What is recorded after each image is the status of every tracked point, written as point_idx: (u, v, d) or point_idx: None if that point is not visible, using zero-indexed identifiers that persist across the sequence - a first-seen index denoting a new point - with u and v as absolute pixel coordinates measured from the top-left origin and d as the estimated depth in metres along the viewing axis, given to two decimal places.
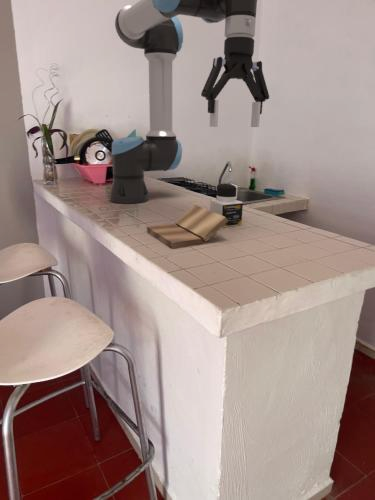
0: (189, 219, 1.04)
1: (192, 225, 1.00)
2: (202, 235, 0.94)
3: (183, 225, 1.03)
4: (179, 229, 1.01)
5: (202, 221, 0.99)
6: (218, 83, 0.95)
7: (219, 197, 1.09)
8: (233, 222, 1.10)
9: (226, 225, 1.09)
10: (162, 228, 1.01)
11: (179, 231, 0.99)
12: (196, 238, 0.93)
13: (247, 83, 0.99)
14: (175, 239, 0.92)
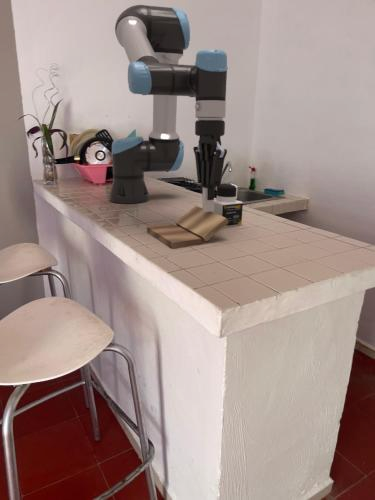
0: (190, 219, 1.04)
1: (192, 225, 1.01)
2: (202, 235, 0.94)
3: (183, 225, 1.03)
4: (179, 229, 1.01)
5: (203, 221, 1.00)
6: None
7: (219, 197, 1.09)
8: (233, 222, 1.10)
9: (226, 225, 1.09)
10: (162, 228, 1.01)
11: (179, 231, 0.99)
12: (196, 238, 0.93)
13: None
14: (175, 239, 0.92)
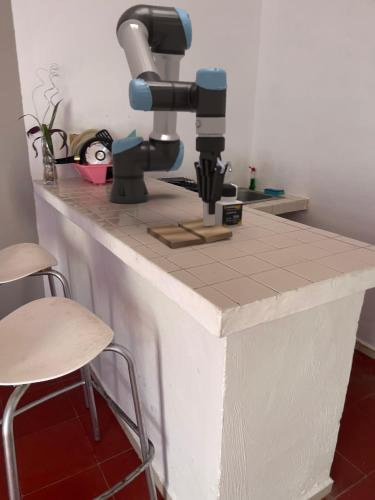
0: (193, 224, 1.05)
1: (196, 228, 1.01)
2: (205, 236, 0.95)
3: (186, 226, 1.04)
4: (179, 229, 1.01)
5: (207, 228, 1.01)
6: None
7: None
8: (233, 222, 1.10)
9: (226, 225, 1.09)
10: (162, 228, 1.01)
11: (179, 231, 0.99)
12: (196, 238, 0.93)
13: None
14: (175, 239, 0.92)
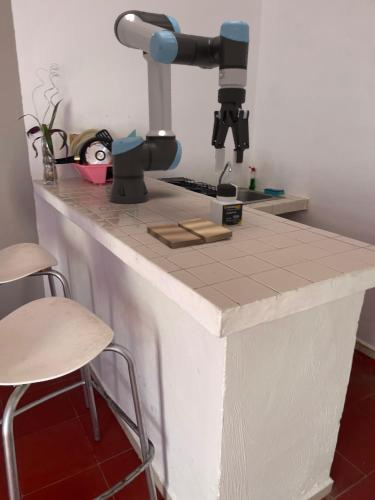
0: (193, 224, 1.05)
1: (196, 228, 1.01)
2: (205, 236, 0.95)
3: (186, 226, 1.04)
4: (179, 229, 1.01)
5: (207, 228, 1.01)
6: None
7: (219, 197, 1.09)
8: (233, 222, 1.10)
9: (226, 225, 1.09)
10: (162, 228, 1.01)
11: (179, 231, 0.99)
12: (196, 238, 0.93)
13: None
14: (175, 239, 0.92)
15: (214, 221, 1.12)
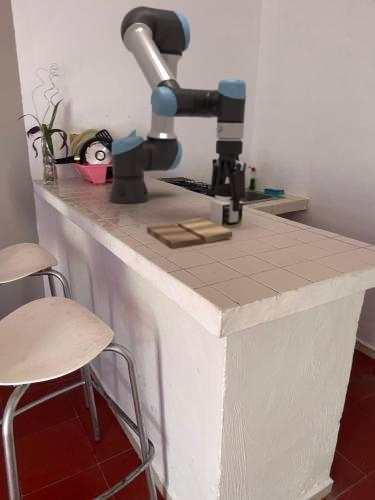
0: (193, 224, 1.05)
1: (196, 228, 1.01)
2: (205, 236, 0.95)
3: (186, 226, 1.04)
4: (179, 229, 1.01)
5: (207, 228, 1.01)
6: None
7: (219, 197, 1.09)
8: None
9: (226, 225, 1.09)
10: (162, 228, 1.01)
11: (179, 231, 0.99)
12: (196, 238, 0.93)
13: None
14: (175, 239, 0.92)
15: (214, 221, 1.12)
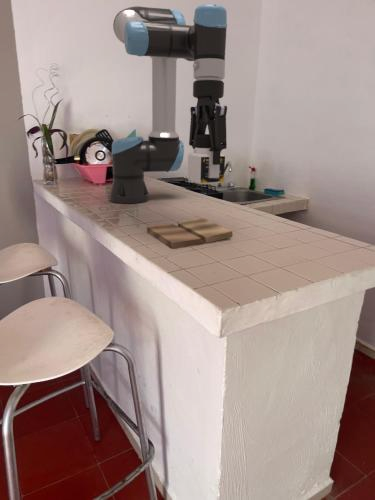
0: (193, 224, 1.05)
1: (196, 228, 1.01)
2: (205, 236, 0.95)
3: (186, 226, 1.04)
4: (179, 229, 1.01)
5: (207, 228, 1.01)
6: None
7: (197, 149, 0.94)
8: (214, 178, 0.95)
9: (206, 181, 0.94)
10: (162, 228, 1.01)
11: (179, 231, 0.99)
12: (196, 238, 0.93)
13: None
14: (175, 239, 0.92)
15: (192, 178, 0.97)
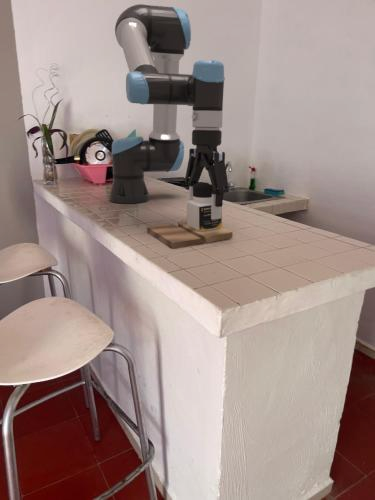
0: None
1: None
2: (205, 236, 0.95)
3: (186, 226, 1.04)
4: (179, 229, 1.01)
5: None
6: None
7: (195, 198, 0.98)
8: (212, 224, 0.99)
9: (204, 229, 0.99)
10: (162, 228, 1.01)
11: (179, 231, 0.99)
12: (196, 238, 0.93)
13: None
14: (175, 239, 0.92)
15: (191, 224, 1.01)
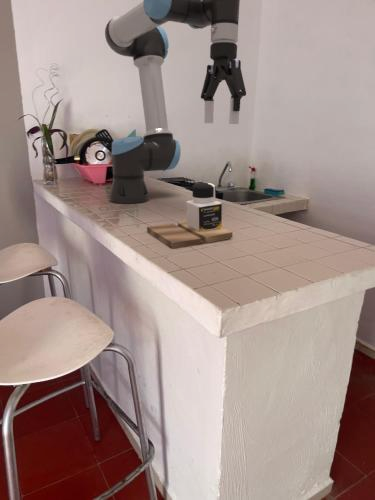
0: None
1: None
2: (205, 236, 0.95)
3: (186, 226, 1.04)
4: (179, 229, 1.01)
5: None
6: None
7: (195, 198, 0.98)
8: (212, 225, 0.99)
9: (204, 229, 0.99)
10: (162, 228, 1.01)
11: (179, 231, 0.99)
12: (196, 238, 0.93)
13: None
14: (175, 239, 0.92)
15: (191, 225, 1.01)
